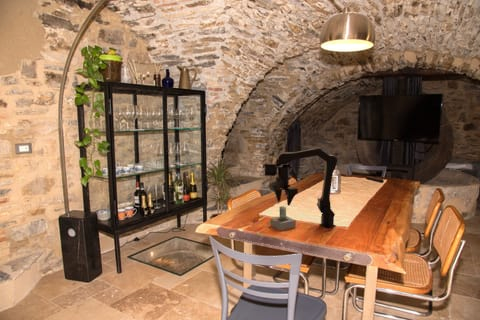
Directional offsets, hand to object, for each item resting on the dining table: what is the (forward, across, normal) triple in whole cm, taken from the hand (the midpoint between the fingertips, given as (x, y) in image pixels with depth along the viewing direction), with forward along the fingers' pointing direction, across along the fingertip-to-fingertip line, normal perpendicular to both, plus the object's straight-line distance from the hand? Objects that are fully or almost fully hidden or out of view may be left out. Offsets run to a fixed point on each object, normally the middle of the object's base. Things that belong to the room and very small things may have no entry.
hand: (283, 203), depth 177 cm
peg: (+12, 0, -1) cm, 12 cm away
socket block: (+13, 0, -1) cm, 13 cm away
